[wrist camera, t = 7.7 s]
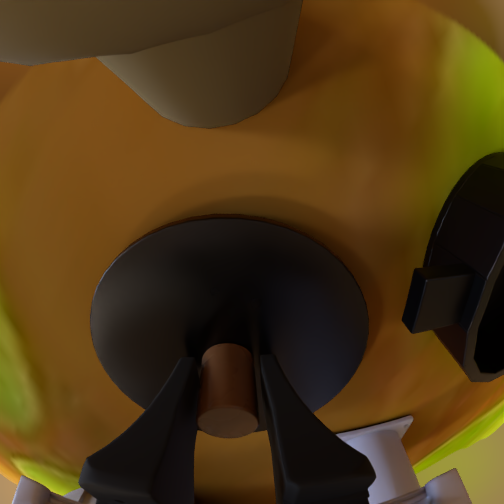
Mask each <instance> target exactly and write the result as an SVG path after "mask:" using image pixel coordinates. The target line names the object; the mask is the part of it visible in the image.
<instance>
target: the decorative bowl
mask: <svg viewBox="0 0 504 504" xmlns="http://www.w3.org/2000/svg"><path fill="white" fill-rule="evenodd" d="M63 497H66V498H69V499H72V500H74V501H77V502H80V503H83V504H96V500H97V499H96V498H94V497H93V496H92V495H90V494H89V493H88V492H86V491H85V490H84V489H83V488H80V489H77V490H74V491H72V492H69V493H68V494H66V495H64V496H63Z"/></svg>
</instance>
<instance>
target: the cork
mask: <svg viewBox="0 0 504 504" xmlns="http://www.w3.org/2000/svg"><path fill="white" fill-rule="evenodd" d="M302 1H303V0H0V61H1V62H9V63H16V64H22V65H28V66H33V65H38V64H45V63H51V62H59V61H67V60H74V59H81V58H89V57H96V58H98V59H99V60H100V61H101V62H102V63H103V64H104V65H106V66H107V67H108V68H109V69H110V70H111V71H112V72H114V73H115V74H116V75H117V76H118V77H119V78H120V79H121V80H122V81H124V82H125V83H126V84H127V85H128V86H129V87H130V88H131V89H132V90H133V91H135V92H136V93H137V94H138V95H139V96H140V97H141V98H142V99H143V100H144V101H146V102H147V103H148V104H149V105H150V106H151V107H152V108H153V109H155V110H156V111H157V112H158V113H159V114H160V115H161V116H162V117H164V118H167V119H169V120H172V121H174V122H177V123H179V124H181V125H184V126H190V127H200V128H215V127H220V126H226V125H232V124H236V123H238V122H240V121H242V120H244V119H246V118H248V117H250V116H253V115H255V114H257V113H258V112H259V111H261V110H262V109H263V108H264V107H265V106H266V105H267V104H268V103H269V102H271V101H272V100H273V99H274V98H275V97H276V96H277V94H278V92H279V91H280V89H281V87H282V85H283V84H284V82H285V80H286V78H287V77H288V72H289V67H290V62H291V57H292V52H293V47H294V42H295V37H296V32H297V27H298V21H299V16H300V11H301V6H302Z"/></svg>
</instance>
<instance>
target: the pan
mask: <svg viewBox="0 0 504 504" xmlns="http://www.w3.org/2000/svg"><path fill="white" fill-rule="evenodd" d="M402 322H403V323H404V324H405V326H406V327H407V328H408V330H409V331H410V332H411V333H412V334H415V333H419V332H424V331H428V330H433V332H434V333H435V334H436V336H437V337H438V339H439V340H440V341H441V343H442V344H443V345H444V346H445V348H446V349H447V350H448V351H449V353H450V354H451V355H452V357H453V358H454V359H455V360H456V362H457V363H458V364H459V366H460V367H461V368H462V370H463V371H464V372H465V374H466V375H467V376H468V378H469V379H470V381H471V382H490V381H492V380H494V379H496V378H498V377H500V376H502V375H504V152H501V153H493V154H490V155H487V156H485V157H484V158H482V159H480V160H479V161H477V162H476V163H475V164H474V165H473V166H471V167H470V168H469V169H468V170H467V171H466V173H465V174H464V175H463V176H462V177H461V178H460V180H459V181H458V182H457V184H456V185H455V187H454V188H453V190H452V191H451V193H450V195H449V196H448V198H447V200H446V201H445V203H444V205H443V208H442V210H441V212H440V214H439V216H438V218H437V221H436V223H435V226H434V228H433V231H432V234H431V237H430V240H429V243H428V246H427V250H426V254H425V258H424V263H423V268H415V269H414V271H413V276H412V281H411V285H410V289H409V294H408V298H407V302H406V305H405V309H404V313H403V317H402Z"/></svg>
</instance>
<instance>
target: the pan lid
mask: <svg viewBox="0 0 504 504" xmlns="http://www.w3.org/2000/svg"><path fill="white" fill-rule="evenodd" d="M90 326H91V335H92V340H93V345H94V348H95V350H96V353H97V356H98V358H99V360H100V362H101V364H102V366H103V368H104V369H105V371H106V372H107V374H108V375H109V377H110V378H111V379H112V381H113V382H114V383H115V384H116V385H117V386H118V388H119V389H120V390H121V391H122V392H123V393H124V394H126V395H127V396H128V397H129V398H130V399H131V400H132V401H134V402H135V403H137V404H138V405H139V406H141V407H142V408H144V409H145V410H146V409H147V408H148V407H149V405H150V404H151V403H152V401H153V400H154V399H155V397H156V396H157V395H158V393H159V392H160V391H161V389H162V388H163V386H164V385H165V383H166V382H167V380H168V378H169V377H170V375H171V374H172V372H173V370H174V368H175V367H176V365H177V363H178V361H179V359H180V358H181V357H195V360H196V365H197V369H198V374H199V378H200V382H199V391H198V401H197V410H196V423H197V426H198V428H197V430H200V431H203V432H205V433H207V434H209V435H212V436H215V437H220V438H238V437H242V436H246V435H248V434H250V433H252V432H258V431H264V430H267V426H266V421H265V416H264V411H263V406H262V398H261V386H260V355H267V354H274V355H276V357H277V360H278V362H279V364H280V366H281V368H282V370H283V372H284V374H285V376H286V377H287V379H288V381H289V382H290V384H291V385H292V387H293V388H294V390H295V391H296V393H297V394H298V396H299V397H300V398H301V400H302V401H303V402H304V403H305V405H306V406H307V407H308V408H309V409H310V411H311V412H312V413H313V412H315V411H316V410H318V409H319V408H321V407H322V406H324V405H325V404H326V403H328V402H329V401H330V400H331V399H333V398H334V397H335V396H336V395H337V394H338V393H339V392H340V391H341V390H342V389H343V388H344V387H345V386H346V384H347V383H348V382H349V381H350V379H351V378H352V376H353V375H354V374H355V372H356V370H357V368H358V366H359V364H360V362H361V361H362V358H363V355H364V352H365V349H366V345H367V340H368V334H369V318H368V311H367V306H366V302H365V299H364V296H363V294H362V291H361V289H360V287H359V285H358V283H357V282H356V280H355V278H354V276H353V275H352V274H351V272H350V271H349V270H348V268H347V267H346V266H345V265H344V264H343V262H342V261H341V260H340V259H339V258H338V256H336V255H335V254H334V253H333V252H332V251H331V250H329V249H328V248H327V247H326V246H325V245H324V244H322V243H321V242H319V241H318V240H316V239H314V238H313V237H311V236H310V235H308V234H306V233H305V232H302V231H300V230H298V229H296V228H293V227H291V226H289V225H287V224H284V223H280V222H277V221H273V220H270V219H266V218H262V217H256V216H249V215H242V214H211V215H203V216H195V217H190V218H186V219H182V220H178V221H175V222H171V223H168V224H166V225H164V226H161V227H159V228H157V229H154V230H152V231H150V232H148V233H147V234H145V235H144V236H142V237H140V238H139V239H137V240H136V241H134V242H133V243H132V244H130V245H129V246H128V247H127V248H126V249H125V250H124V251H123V252H121V253H120V254H119V255H118V256H117V258H116V259H115V260H114V261H113V263H112V264H111V265H110V266H109V268H108V269H107V270H106V271H105V273H104V275H103V276H102V278H101V280H100V282H99V284H98V286H97V288H96V291H95V294H94V297H93V301H92V306H91V314H90Z"/></svg>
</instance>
